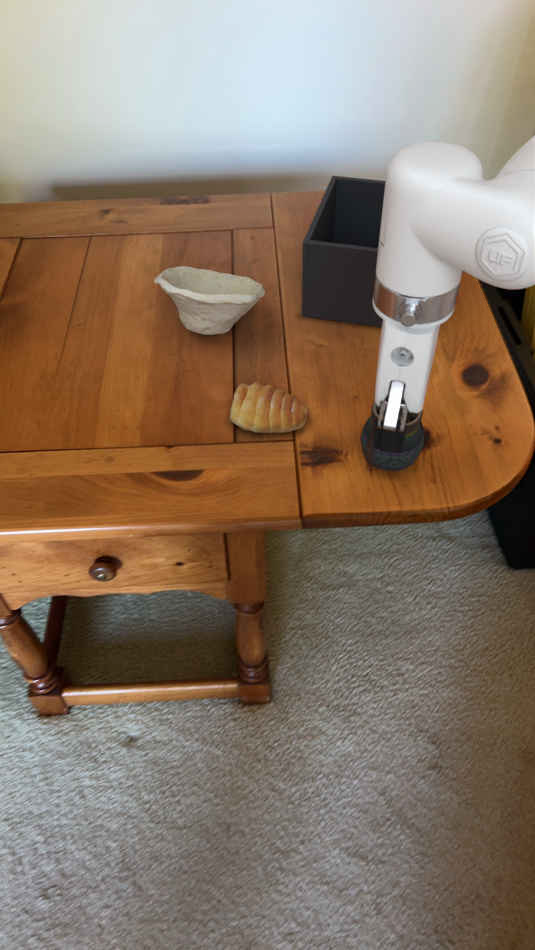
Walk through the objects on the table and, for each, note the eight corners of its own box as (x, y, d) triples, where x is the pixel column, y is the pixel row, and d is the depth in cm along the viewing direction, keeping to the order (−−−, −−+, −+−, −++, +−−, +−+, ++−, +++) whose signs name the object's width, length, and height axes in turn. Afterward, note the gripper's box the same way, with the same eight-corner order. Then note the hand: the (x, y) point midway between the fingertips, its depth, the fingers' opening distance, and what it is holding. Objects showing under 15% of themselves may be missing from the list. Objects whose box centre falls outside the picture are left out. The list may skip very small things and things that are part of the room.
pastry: (312, 404, 84) (312, 382, 81) (301, 443, 80) (301, 421, 77) (241, 394, 85) (238, 371, 82) (226, 431, 81) (224, 409, 78)
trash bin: (432, 259, 103) (445, 186, 94) (417, 332, 92) (430, 257, 83) (329, 247, 107) (332, 175, 98) (301, 316, 95) (302, 242, 86)
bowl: (283, 311, 96) (282, 249, 89) (235, 369, 89) (230, 307, 81) (197, 285, 101) (188, 224, 93) (144, 338, 93) (130, 276, 86)
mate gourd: (389, 490, 75) (400, 430, 67) (343, 452, 78) (348, 391, 71) (433, 459, 77) (448, 397, 70) (386, 424, 81) (396, 361, 74)
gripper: (446, 357, 54) (415, 492, 68) (465, 245, 65) (435, 381, 79) (356, 344, 56) (344, 478, 70) (389, 236, 66) (372, 371, 80)
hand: (392, 425), depth 74 cm, fingers closed on mate gourd, 6 cm apart
